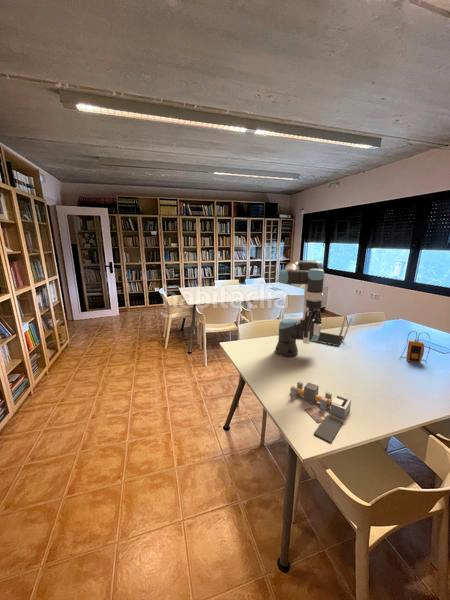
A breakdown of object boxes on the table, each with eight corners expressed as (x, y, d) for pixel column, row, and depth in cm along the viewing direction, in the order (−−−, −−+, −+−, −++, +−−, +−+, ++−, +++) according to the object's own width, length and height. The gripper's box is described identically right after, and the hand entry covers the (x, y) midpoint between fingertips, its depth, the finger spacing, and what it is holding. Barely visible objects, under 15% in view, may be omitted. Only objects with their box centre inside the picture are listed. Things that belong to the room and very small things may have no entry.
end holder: (330, 413, 108) (331, 403, 107) (336, 404, 115) (337, 394, 113) (344, 419, 104) (345, 409, 103) (350, 409, 111) (351, 399, 110)
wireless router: (300, 339, 195) (301, 314, 191) (308, 331, 214) (310, 308, 210) (346, 348, 176) (349, 322, 172) (351, 338, 195) (354, 314, 191)
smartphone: (343, 421, 102) (331, 442, 91) (343, 423, 103) (331, 444, 92) (326, 414, 107) (313, 433, 96) (326, 416, 107) (312, 435, 96)
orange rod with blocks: (289, 394, 122) (289, 381, 121) (293, 390, 126) (293, 377, 125) (340, 413, 107) (341, 399, 106) (343, 408, 111) (344, 394, 109)
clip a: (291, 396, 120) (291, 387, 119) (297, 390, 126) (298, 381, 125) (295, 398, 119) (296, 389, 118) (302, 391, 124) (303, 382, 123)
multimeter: (423, 357, 161) (428, 328, 157) (428, 364, 152) (433, 333, 148) (396, 354, 167) (400, 325, 163) (399, 360, 158) (404, 330, 154)
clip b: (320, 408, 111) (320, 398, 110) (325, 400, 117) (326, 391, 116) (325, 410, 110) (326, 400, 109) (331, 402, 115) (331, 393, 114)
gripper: (311, 306, 112) (308, 348, 118) (329, 296, 131) (326, 333, 136) (296, 303, 117) (293, 344, 122) (315, 294, 136) (313, 330, 141)
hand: (311, 338), depth 129 cm, fingers open, 13 cm apart
